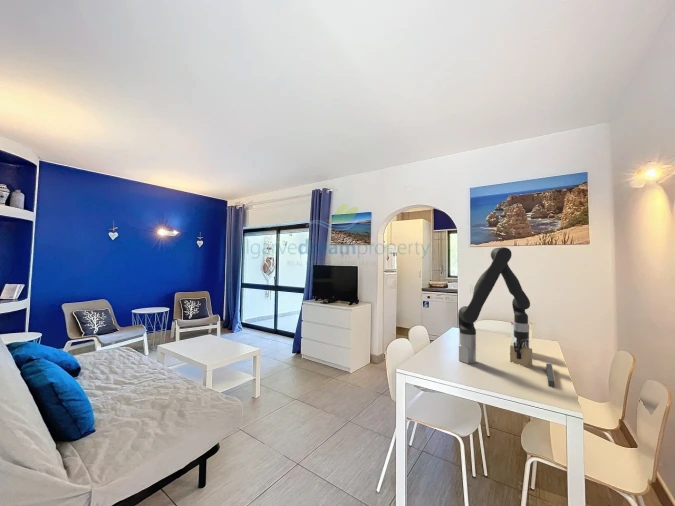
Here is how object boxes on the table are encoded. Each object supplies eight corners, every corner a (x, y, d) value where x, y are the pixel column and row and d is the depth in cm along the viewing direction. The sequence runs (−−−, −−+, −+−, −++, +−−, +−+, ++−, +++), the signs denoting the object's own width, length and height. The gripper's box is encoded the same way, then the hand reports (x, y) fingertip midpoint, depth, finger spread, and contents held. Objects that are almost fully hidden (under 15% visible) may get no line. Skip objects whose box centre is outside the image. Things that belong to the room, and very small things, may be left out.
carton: (532, 365, 165) (532, 348, 165) (528, 367, 162) (528, 350, 162) (514, 360, 173) (514, 344, 173) (510, 361, 170) (510, 345, 170)
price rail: (555, 387, 136) (555, 381, 136) (548, 386, 137) (548, 380, 137) (552, 369, 158) (552, 364, 158) (546, 368, 160) (546, 363, 160)
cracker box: (529, 356, 180) (529, 324, 181) (519, 355, 181) (519, 323, 182) (520, 349, 194) (520, 319, 194) (510, 348, 195) (510, 319, 196)
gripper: (519, 327, 175) (519, 354, 174) (508, 330, 167) (508, 358, 166) (533, 329, 168) (533, 357, 168) (522, 333, 161) (522, 362, 160)
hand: (521, 357), depth 167 cm, fingers closed on carton, 5 cm apart
